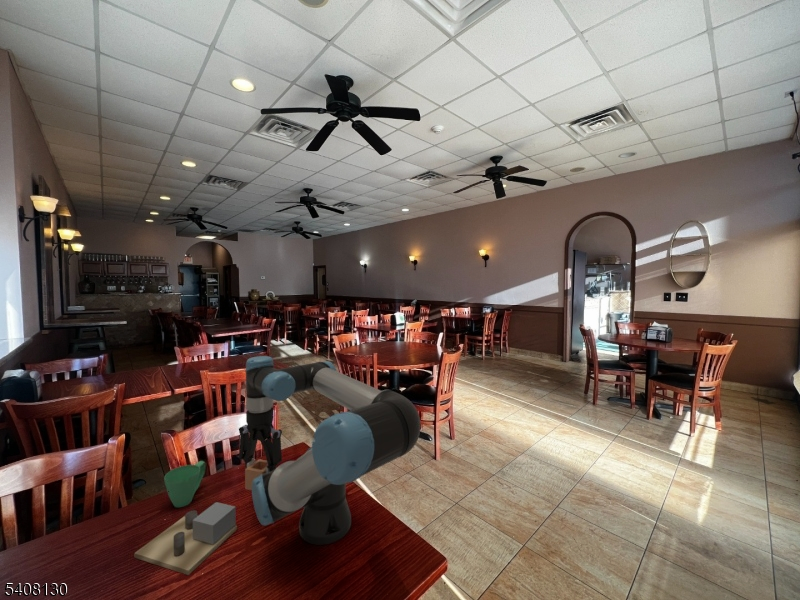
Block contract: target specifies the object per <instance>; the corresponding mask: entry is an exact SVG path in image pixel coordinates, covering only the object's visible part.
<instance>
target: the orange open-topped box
mask: <svg viewBox="0 0 800 600" xmlns="http://www.w3.org/2000/svg"><path fill="white" fill-rule="evenodd" d="M266 466H268V463H267V459H261V458H258V459H257V460H255V462H254V463H253V464H252V465H250V466H249V467H247V468H246V469H245V468H244V479H245V480H244V484H245V485H244V487H245V490H249V491H252V482H253V480H254V479H255V478H256V477H258V476H260V475H261V474H266Z"/></svg>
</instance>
